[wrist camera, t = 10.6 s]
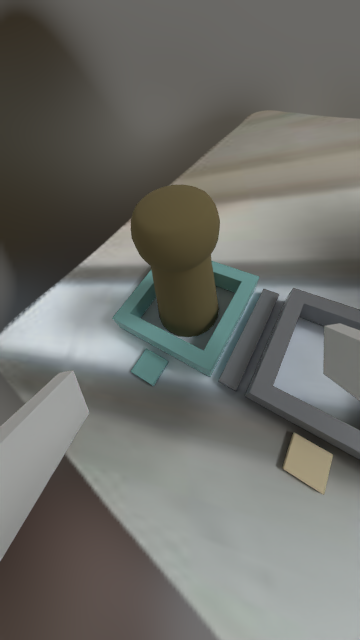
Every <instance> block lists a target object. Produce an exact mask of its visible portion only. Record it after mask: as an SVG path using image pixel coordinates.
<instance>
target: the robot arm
mask: <svg viewBox="0 0 360 640" xmlns="http://www.w3.org/2000/svg"><path fill="white" fill-rule="evenodd" d="M323 374H325V375H326V376H327V377H329V378H330V379H331V380H333V381H334V382H335V383H337V384H338V385H339V386H341V387H342V388H343V389H345V390H346V391H347V392H349V393H350V394H351V395H353V396H354V397H355V398H357V399H358V400H359V401H360V330H357V329H355V328H352V327H349V326H346V325H343V324H341V323H338V324H332V325H327V326H324V373H323ZM88 414H89V410H88V408H87V405H86V403H85V400H84V397H83V395H82V392H81V389H80V387H79V384H78V382H77V379H76V376H75V374H74V371H73V370H72V371H66V372H61V373H59V374H57V375H56V376H55V377H54V378H53V379H52V380H51V381H50V382H49V383H48V384H46V385H45V386H44V387H43V388H42V389H41V390H40V391H39V392H38V393H37V394H35V395H34V396H33V397H32V398H31V399H30V400H29V401H28V402H27V403H26V404H24V405H23V406H22V407H21V408H20V409H19V410H18V411H17V412H16V413H15V414H13V415H12V416H11V417H10V418H9V419H8V420H7V421H6V422H5V423H4V424H2V425H1V426H0V561H1V559H2V558H3V556H4V554H5V553H6V551H7V549H8V548H9V546H10V544H11V542H12V541H13V539H14V538H15V536H16V534H17V533H18V531H19V529H20V528H21V526H22V524H23V523H24V521H25V519H26V518H27V516H28V514H29V512H30V511H31V509H32V507H33V506H34V504H35V502H36V501H37V499H38V498H39V496H40V494H41V493H42V491H43V489H44V488H45V486H46V484H47V482H48V481H49V479H50V477H51V475H52V474H53V473H54V471H55V469H56V468H57V466H58V464H59V463H60V461H61V459H62V458H63V456H64V454H65V453H66V451H67V449H68V448H69V446H70V444H71V443H72V441H73V439H74V438H75V436H76V434H77V433H78V431H79V429H80V428H81V426H82V424H83V423H84V421H85V419H86V418H87V416H88Z"/></svg>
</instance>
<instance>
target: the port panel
mask: <svg viewBox="0 0 360 640" xmlns="http://www.w3.org/2000/svg"><path fill="white" fill-rule="evenodd" d="M212 267H213V274H214V280H215V286H218V287H221V288H224V289H226V290H229V291H232V292H234V293H235V295H234V297H233V299H232V300H231V302H230V304H229V306H228V308H227V309H226V311H225V313H224V315H223V317H222V318H221V320H220V322H219V324H218V326H217V327H216V329H215V331H214V333H213V335H212V336H211V338H210V340H209V342H208V344H207V345H206V347H205V349H204V351H203V350H201V349H199V348H197V347H196V346H194V345H192V344H190V343H188V342H186V341H184V340H182V339H180V338H178V337H176V336H174V335H172V334H170V333H168V332H166V331H164V330H162V329H160V328H158V327H156V326H154V325H152V324H150V323H148V322H146V321H144V320H143V319H141V317H142V315H143V314H144V313H145V311H146V310H147V309H148V307H149V306H150V305H151V303H152V302H153V301H154V299H155V298H156V293H155V287H154V281H153V276H152V270H151V271H150V272H149V273H148V274H147V276H146V277H145V278H144V279H143V281H142V282H141V283H140V284H139V286H138V287H137V288H136V289H135V290H134V292H133V293H132V294H131V295H130V297H129V298H128V299H127V300H126V302H125V303H124V304H123V305H122V307H121V308H120V309H119V310H118V312H117V313H116V314H115V315H114V317H113V320H114V321H115V322H116V323H117V324H118V325H119V326H120V327H121V328H122V329H124V330H126V331H128V332H130V333H131V334H133V335H135V336H137V337H139V338H140V339H142V340H144V341H146V342H148V343H149V344H151V345H153V346H155V347H157V348H158V349H160V350H162V351H164V352H166V353H167V354H169V355H171V356H173V357H175V358H177V359H178V360H180V361H182V362H184V363H186V364H187V365H189V366H191V367H193V368H195V369H196V370H198V371H200V372H202V373H204V374H205V375H207V376H209V377H210V376H211V375H212V373H213V371H214V369H215V367H216V365H217V363H218V361H219V359H220V357H221V355H222V353H223V351H224V349H225V347H226V345H227V343H228V341H229V339H230V337H231V335H232V333H233V332H234V330H235V328H236V326H237V324H238V322H239V320H240V318H241V316H242V314H243V312H244V310H245V308H246V306H247V304H248V302H249V300H250V298H251V296H252V294H253V292H254V290H255V288H256V285H257V282H258V279H259V276H256V275H253V274H250V273H247V272H244V271H241V270H238V269H235V268H232V267H229V266H226V265H223V264H220V263H217V262H214V261H212ZM278 296H279V294H277V293H275V292H272V291H269V290H266V289H263V291H262V293H261V295H260V297H259V299H258V301H257V303H256V305H255V307H254V309H253V312H252V314H251V316H250V318H249V320H248V322H247V324H246V326H245V328H244V330H243V332H242V334H241V336H240V338H239V340H238V342H237V344H236V346H235V348H234V350H233V352H232V354H231V356H230V358H229V360H228V362H227V364H226V366H225V369H224V371H223V373H222V375H221V377H220V379H219V381H218V382H220V383H222V384H223V385H225V386H227V387H229V388H231V389H233V390H234V391H236V390H237V388H238V386H239V384H240V381H241V379H242V377H243V375H244V372H245V370H246V368H247V366H248V363H249V361H250V359H251V357H252V354H253V352H254V350H255V348H256V346H257V343H258V341H259V339H260V337H261V334H262V332H263V330H264V328H265V325H266V323H267V321H268V319H269V316H270V314H271V312H272V310H273V307H274V305H275V303H276V301H277V298H278ZM299 317H301V318H304V319H306V320H309V321H312V322H314V323H317V324H320V325H322V326H327V325H332V324H338V323H341V324H343V325H346V326H349V327H352V328H355V329H357V330H360V310H359V309H356V308H353V307H350V306H347V305H344V304H341V303H338V302H335V301H331V300H328V299H325V298H322V297H319V296H316V295H313V294H310V293H307V292H304V291H301V290H298V289H295V288H293V289H292V291H291V292H290V294H289V296H288V297H287V299H286V300H285V303H284V305H283V307H282V310H281V312H280V314H279V317H278V319H277V321H276V324H275V326H274V328H273V331H272V333H271V336H270V338H269V340H268V343H267V345H266V347H265V350H264V352H263V354H262V357H261V359H260V361H259V364H258V366H257V368H256V371H255V373H254V375H253V378H252V380H251V383H250V385H249V387H248V390H247V392H246V394H245V397H247V398H249V399H251V400H252V401H254V402H256V403H258V404H260V405H261V406H263V407H265V408H267V409H269V410H270V411H272V412H274V413H276V414H278V415H279V416H281V417H283V418H285V419H287V420H289V421H290V422H292V423H294V424H296V425H298V426H299V427H301V428H303V429H305V430H307V431H308V432H310V433H312V434H314V435H316V436H317V437H319V438H321V439H323V440H325V441H326V442H328V443H330V444H332V445H334V446H335V447H337V448H339V449H341V450H343V451H345V452H346V453H348V454H350V455H352V456H354V457H355V458H357V459H359V460H360V430H358V429H357V428H355V427H353V426H351V425H349V424H347V423H345V422H343V421H341V420H339V419H337V418H335V417H333V416H331V415H329V414H327V413H325V412H323V411H321V410H319V409H317V408H315V407H313V406H311V405H309V404H307V403H305V402H304V401H302V400H300V399H298V398H296V397H294V396H292V395H290V394H288V393H286V392H284V391H282V390H280V389H278V388H276V387H274V386H273V384H274V381H275V379H276V376H277V374H278V371H279V368H280V366H281V363H282V360H283V358H284V355H285V352H286V350H287V347H288V344H289V342H290V339H291V336H292V334H293V331H294V329H295V326H296V323H297V321H298V318H299ZM167 364H168V361H167V360H166V359H164V358H162V357H160V356H159V355H157V354H155V353H153V352H152V351H150V350H148V349H146V350H145V351H144V353H143V354H142V356H141V357H140V359H139V360H138V362H137V363H136V364H135V366H134V367H133V369H132V370H131V372H132V373H134V374H135V375H137V376H139V377H140V378H142V379H143V380H145V381H146V382H148V383H149V384H151V385H153V386H154V385H155V383H156V381H157V380H158V378H159V377H160V375H161V373H162V372H163V370H164V368H165V367H166V365H167ZM332 458H333V454H331V453H329V452H328V451H326V450H324V449H322V448H321V447H319V446H317V445H315V444H313V443H312V442H310V441H308V440H306V439H305V438H303V437H301V436H299V435H298V434H296V433H293V434H292V437H291V441H290V444H289V447H288V450H287V454H286V457H285V460H284V463H283V467H282V469H284V470H285V471H287V472H289V473H290V474H292V475H293V476H295V477H296V478H298V479H300V480H301V481H303V482H304V483H306V484H307V485H309V486H310V487H312V488H314V489H315V490H317V491H318V492H320V493H321V494H323V495H324V493H325V488H326V484H327V480H328V475H329V471H330V466H331V462H332Z"/></svg>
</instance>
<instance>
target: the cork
mask: <svg viewBox="0 0 360 640" xmlns="http://www.w3.org/2000/svg"><path fill="white" fill-rule="evenodd" d="M219 227H220V220H219V215H218V211H217V208H216V205H215V203H214V202H213V200H212V199H211V197H210V196H209V195H208V194H207V193H206V192H205V191H203V190H201V189H198V188H196V187H193V186H187V185H171V186H166V187H162V188H160V189H157V190H154V191H153V192H151V193H149V194H148V195H146V196H145V197H144V198H143V199H142V200H141V201H140V202H139V203H138V204H137V205H136V207H135V209H134V211H133V214H132V218H131V235H132V239H133V242H134V244H135V246H136V248H137V250H138V252H139V254H140V255H141V257H142V258H143V259H144V260H145V261H146V262H147V263H148V264H149V265H151V270H152V276H153V281H154V287H155V293H156V299H157V304H158V310H159V316H160V319H161V322H162V324H163V326H164V327H165V328H166V329H167V330H168V331H169V332H171V333H173V334H175V335H178V336H184V337H192V336H198V335H200V334H202V333H204V332H206V331H208V330H209V329H210V328H211V327H212V326H213V325H214V323H215V321H216V319H217V318H218V312H219V306H218V299H217V293H216V287H215V280H214V274H213V267H212V261H211V253H212V252H213V250H214V248H215V246H216V243H217V241H218V235H219Z"/></svg>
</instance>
